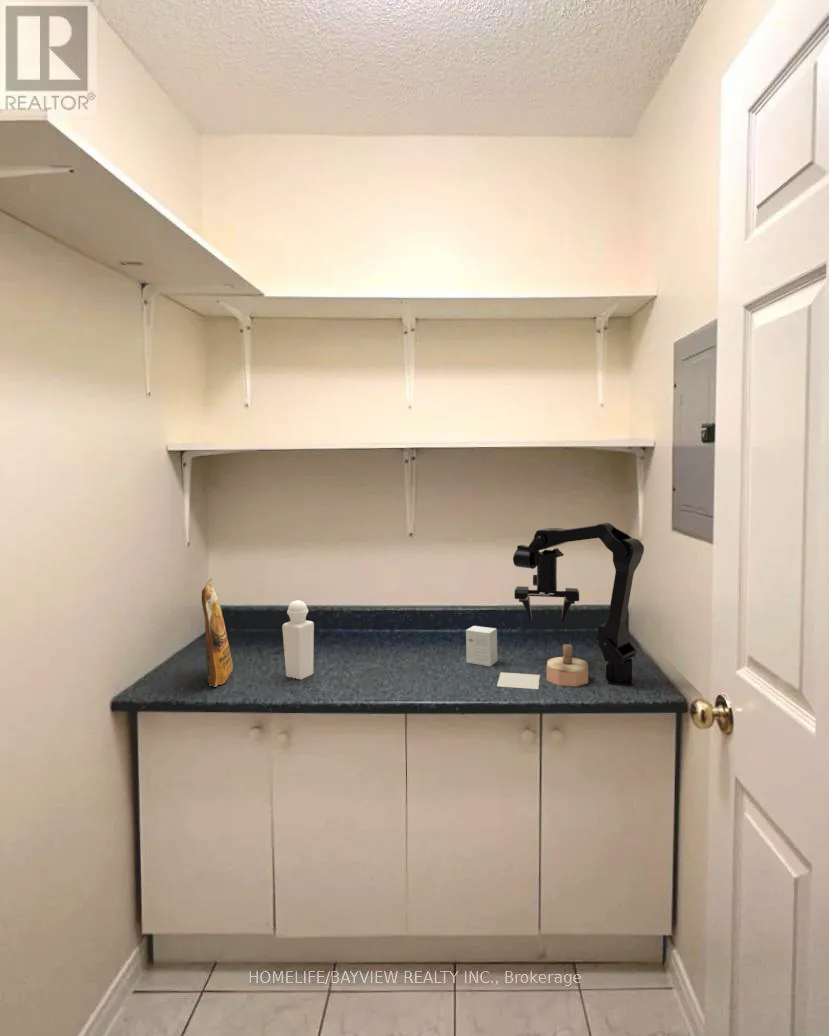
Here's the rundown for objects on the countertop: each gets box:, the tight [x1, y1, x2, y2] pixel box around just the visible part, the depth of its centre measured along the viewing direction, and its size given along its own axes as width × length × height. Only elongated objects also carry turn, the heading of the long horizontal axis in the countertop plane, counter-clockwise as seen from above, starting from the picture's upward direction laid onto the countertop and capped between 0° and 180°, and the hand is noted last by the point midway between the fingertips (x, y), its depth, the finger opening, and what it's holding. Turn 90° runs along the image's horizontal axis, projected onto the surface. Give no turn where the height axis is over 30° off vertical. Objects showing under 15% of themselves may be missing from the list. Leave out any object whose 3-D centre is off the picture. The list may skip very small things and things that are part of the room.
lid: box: [546, 643, 589, 673], centre depth 170 cm, size 11×11×6 cm
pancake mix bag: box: [200, 578, 234, 687], centre depth 174 cm, size 7×19×28 cm, turn 5°
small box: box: [465, 625, 498, 667], centre depth 185 cm, size 8×6×10 cm
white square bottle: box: [281, 599, 315, 681], centre depth 176 cm, size 6×6×22 cm
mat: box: [496, 672, 541, 690], centre depth 169 cm, size 11×11×1 cm
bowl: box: [546, 665, 589, 688], centre depth 170 cm, size 11×11×4 cm
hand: (546, 621), depth 184 cm, fingers open, 9 cm apart
